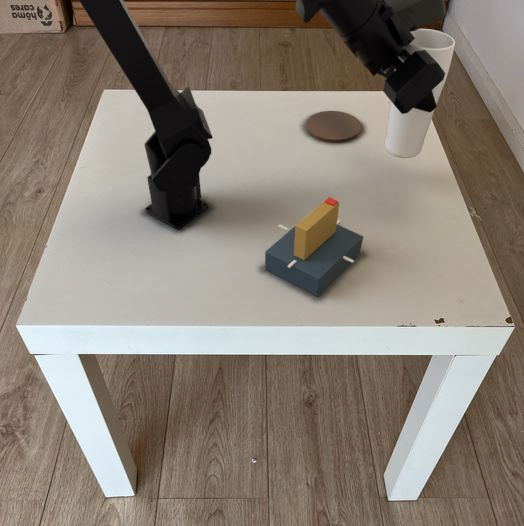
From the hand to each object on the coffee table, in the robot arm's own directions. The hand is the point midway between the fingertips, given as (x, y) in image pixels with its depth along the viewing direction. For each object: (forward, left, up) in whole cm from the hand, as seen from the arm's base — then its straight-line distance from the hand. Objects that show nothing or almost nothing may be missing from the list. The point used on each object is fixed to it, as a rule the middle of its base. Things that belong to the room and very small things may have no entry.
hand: (422, 97), depth 78 cm
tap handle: (-24, 0, -9) cm, 26 cm away
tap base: (-24, 0, -12) cm, 27 cm away
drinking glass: (-1, +1, -8) cm, 8 cm away
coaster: (+5, +16, -12) cm, 21 cm away
